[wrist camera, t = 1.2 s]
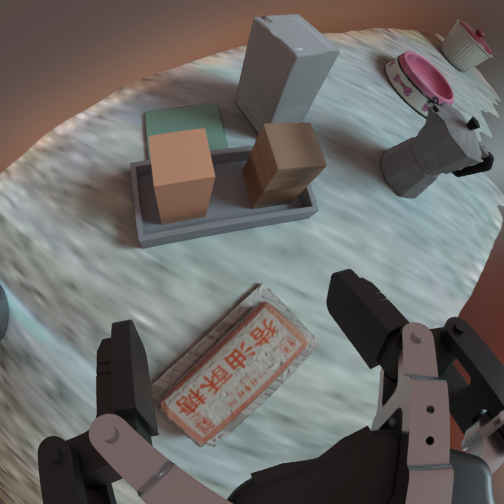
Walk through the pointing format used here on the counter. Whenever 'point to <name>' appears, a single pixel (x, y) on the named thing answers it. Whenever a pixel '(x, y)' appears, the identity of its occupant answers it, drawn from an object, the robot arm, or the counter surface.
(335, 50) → the skincare box
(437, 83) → the dog bowl
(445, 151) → the coffeepot
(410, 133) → the counter surface
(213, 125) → the green mat
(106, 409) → the robot arm
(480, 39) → the canister
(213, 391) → the packaged product
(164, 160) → the terracotta carton
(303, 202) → the grey bin
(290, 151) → the walnut block
